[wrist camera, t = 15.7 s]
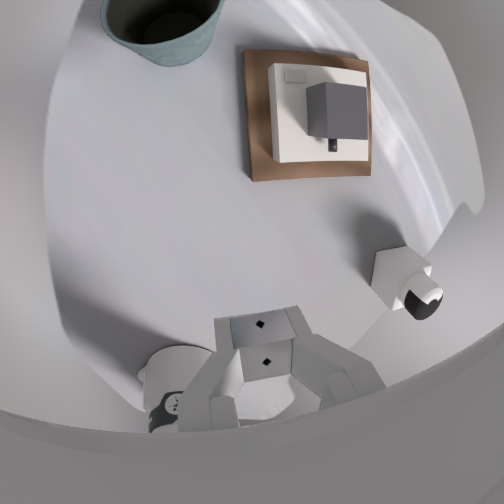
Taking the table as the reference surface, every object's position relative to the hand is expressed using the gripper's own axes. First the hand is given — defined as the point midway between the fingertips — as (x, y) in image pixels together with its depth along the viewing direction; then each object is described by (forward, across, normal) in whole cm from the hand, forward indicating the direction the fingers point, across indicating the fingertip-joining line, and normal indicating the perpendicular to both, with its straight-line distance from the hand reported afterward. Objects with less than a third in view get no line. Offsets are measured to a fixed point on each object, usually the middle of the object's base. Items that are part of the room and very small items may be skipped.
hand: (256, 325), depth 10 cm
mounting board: (+25, +12, +8) cm, 29 cm away
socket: (+24, +12, +8) cm, 28 cm away
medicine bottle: (+25, +27, -16) cm, 40 cm away
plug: (+22, +12, +8) cm, 26 cm away
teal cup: (+25, -4, +19) cm, 32 cm away
